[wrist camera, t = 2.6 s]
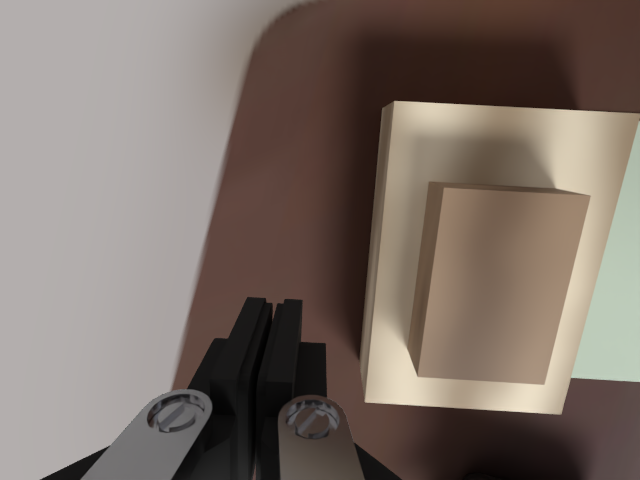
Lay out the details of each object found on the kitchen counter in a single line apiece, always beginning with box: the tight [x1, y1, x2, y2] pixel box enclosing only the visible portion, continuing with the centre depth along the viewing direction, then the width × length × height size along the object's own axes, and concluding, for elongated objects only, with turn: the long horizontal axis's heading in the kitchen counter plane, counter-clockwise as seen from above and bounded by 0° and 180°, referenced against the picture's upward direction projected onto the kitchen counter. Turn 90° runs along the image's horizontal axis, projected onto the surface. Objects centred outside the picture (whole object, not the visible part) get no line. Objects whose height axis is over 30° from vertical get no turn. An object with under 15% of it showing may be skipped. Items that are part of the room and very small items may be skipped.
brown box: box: [407, 182, 591, 385], centre depth 17 cm, size 6×9×2 cm, turn 177°
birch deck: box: [359, 101, 640, 414], centre depth 20 cm, size 11×16×4 cm
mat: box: [571, 121, 640, 382], centre depth 22 cm, size 10×16×1 cm, turn 177°
